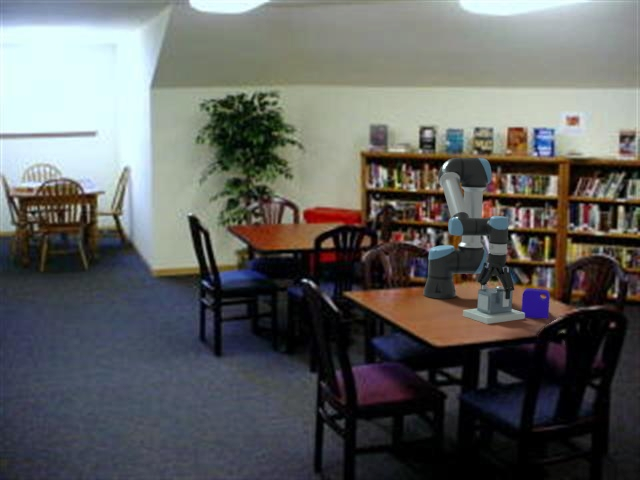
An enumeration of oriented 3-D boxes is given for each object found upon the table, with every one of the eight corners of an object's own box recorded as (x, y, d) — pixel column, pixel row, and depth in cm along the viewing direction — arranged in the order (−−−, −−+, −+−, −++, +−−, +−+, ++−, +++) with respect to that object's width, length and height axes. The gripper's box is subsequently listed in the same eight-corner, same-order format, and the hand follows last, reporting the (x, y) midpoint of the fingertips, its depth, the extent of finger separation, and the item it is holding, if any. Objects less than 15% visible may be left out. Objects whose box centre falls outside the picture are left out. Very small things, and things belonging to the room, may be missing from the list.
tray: (462, 315, 361) (463, 309, 361) (500, 311, 372) (500, 305, 371) (486, 323, 348) (487, 317, 348) (524, 318, 359) (525, 312, 359)
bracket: (547, 319, 359) (549, 292, 358) (521, 316, 363) (522, 289, 361) (550, 310, 376) (552, 284, 374) (525, 308, 380) (526, 282, 378)
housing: (476, 310, 360) (477, 287, 358) (498, 307, 366) (499, 284, 365) (488, 314, 353) (490, 290, 351) (511, 311, 359) (512, 288, 358)
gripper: (471, 249, 364) (468, 298, 368) (511, 258, 344) (508, 310, 347) (484, 248, 368) (481, 296, 372) (525, 257, 347) (521, 308, 351)
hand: (494, 303), depth 359 cm, fingers open, 13 cm apart
